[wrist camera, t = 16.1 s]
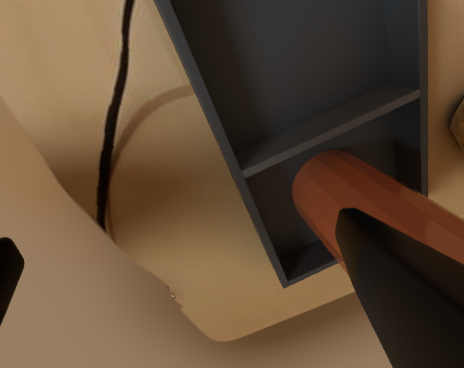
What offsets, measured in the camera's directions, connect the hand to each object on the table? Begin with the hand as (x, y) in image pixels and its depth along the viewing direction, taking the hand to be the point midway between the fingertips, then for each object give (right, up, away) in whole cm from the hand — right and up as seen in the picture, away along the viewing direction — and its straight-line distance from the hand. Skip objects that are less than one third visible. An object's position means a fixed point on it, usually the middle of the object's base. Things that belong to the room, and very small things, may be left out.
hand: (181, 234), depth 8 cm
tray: (+7, +6, +13) cm, 16 cm away
